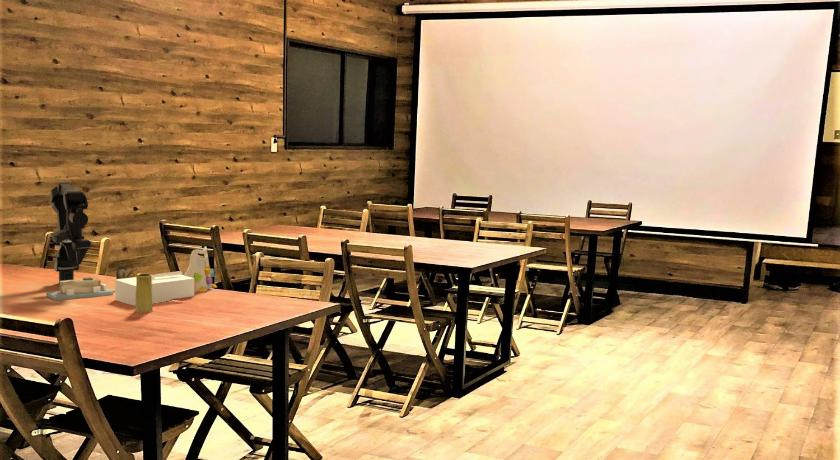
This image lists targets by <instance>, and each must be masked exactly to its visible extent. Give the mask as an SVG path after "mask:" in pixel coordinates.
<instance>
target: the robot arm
mask: <svg viewBox="0 0 840 460" xmlns="http://www.w3.org/2000/svg"><path fill="white" fill-rule="evenodd" d="M49 202H50V204H51V209H53V211H54V212H55V213H56V219H57V230H58V231H55V232H53V233H51V234H50V236H51V238H52V242H53V243H56V244H59V249H58V250H57V252H56V256H55V259H54V264H53V268H54V269H53V270H54V271H55V272H56V273H58V285H60V281H66V280H75V271H79V270H80V265H81V264H82V263H83V260H84V258H85V256H86V255H87V252H88V251H89V249H90V248H92V242H91V241H90V239H87V238H85V236H84V235H83V229H85V226H86V225H87V224H88V222H89V216H88V215H87V213H85V212H84V210H88V207H89V202H88V198H87V196H86V194H85V192H84V191H83V190H79V189H75V187H73V185H72V183H71V182H58V183H57V185H56V186H55V187H54V188H52V189H51V190H50V194H49Z"/></svg>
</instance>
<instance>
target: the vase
mask: <svg viewBox="0 0 840 460" xmlns="http://www.w3.org/2000/svg"><path fill="white" fill-rule="evenodd" d="M152 275H153V274H151V273H144V272H143V273H138V274H136V276H135V277H136V306H134V308H135V313H138V312H142V313H141V314H145V313H144V312H148V313H152V312H153V304H152V279H151V277H152ZM151 311H152V312H151Z"/></svg>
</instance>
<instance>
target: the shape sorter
mask: <svg viewBox="0 0 840 460" xmlns="http://www.w3.org/2000/svg"><path fill="white" fill-rule="evenodd" d="M203 248H204V249H193V250H192V251H191V253H190V256H189V264H188V268H187V270H186V271H185V272H184V274H183V275H184V276H188V277H191V278H194V293H195V292H202V293H203V292H207V291H208V290H211V289H212V288H213V289H214V288H218V286H217V285H216V284H215V283H213V278H214V276H215V273H214V268H210V267H211V266H210V262H209V256H208V248H207V246H203ZM199 254H200V255H203V257H200V256H199Z"/></svg>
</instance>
